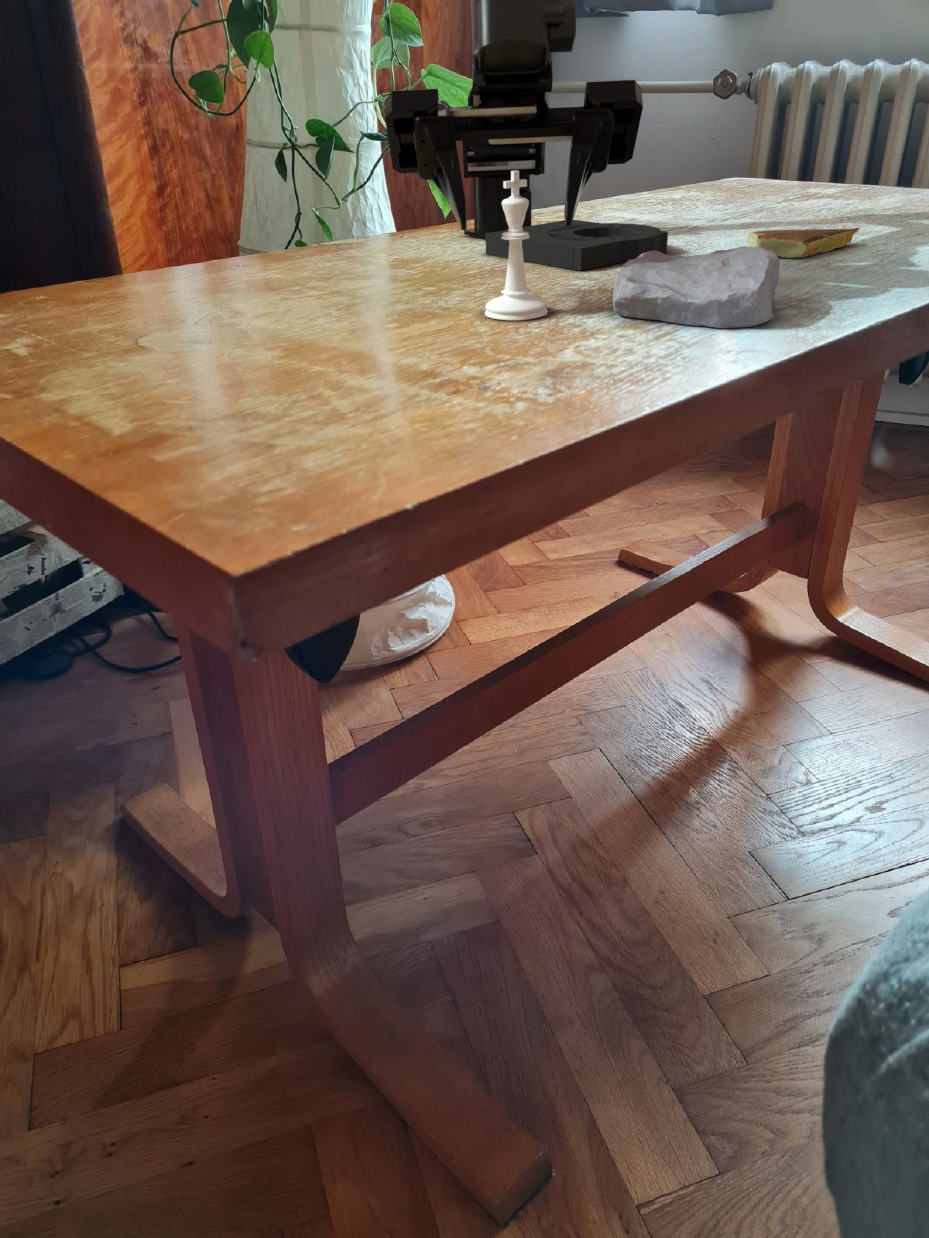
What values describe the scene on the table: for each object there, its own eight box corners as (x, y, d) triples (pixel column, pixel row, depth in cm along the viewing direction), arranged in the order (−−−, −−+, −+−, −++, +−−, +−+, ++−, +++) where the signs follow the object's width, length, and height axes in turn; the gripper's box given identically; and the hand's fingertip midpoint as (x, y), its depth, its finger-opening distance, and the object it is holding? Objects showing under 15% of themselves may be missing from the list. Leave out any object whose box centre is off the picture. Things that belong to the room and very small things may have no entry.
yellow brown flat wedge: (856, 244, 89) (859, 224, 88) (877, 258, 82) (882, 237, 81) (744, 246, 90) (747, 227, 89) (757, 260, 84) (760, 240, 83)
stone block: (768, 354, 63) (778, 295, 70) (774, 288, 60) (784, 232, 67) (602, 352, 67) (627, 296, 74) (600, 289, 64) (626, 236, 70)
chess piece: (474, 311, 71) (470, 171, 65) (530, 303, 72) (530, 166, 67) (501, 324, 67) (498, 176, 61) (558, 315, 68) (561, 171, 63)
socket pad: (485, 254, 92) (485, 233, 91) (580, 236, 99) (580, 217, 98) (586, 272, 82) (587, 249, 81) (683, 251, 89) (685, 230, 88)
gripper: (374, -46, 61) (374, 148, 57) (648, -59, 60) (665, 135, 57) (392, 86, 72) (393, 256, 68) (624, 76, 71) (637, 246, 68)
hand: (516, 224), depth 65 cm, fingers open, 7 cm apart
